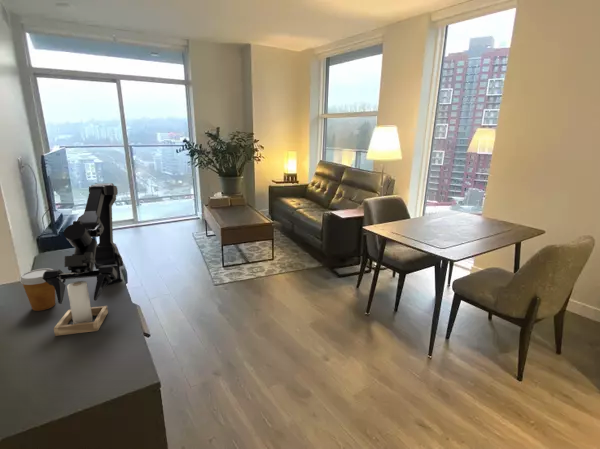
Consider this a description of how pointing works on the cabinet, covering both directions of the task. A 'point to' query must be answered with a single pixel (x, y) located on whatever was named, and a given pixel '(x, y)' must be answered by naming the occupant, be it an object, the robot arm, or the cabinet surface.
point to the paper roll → (79, 302)
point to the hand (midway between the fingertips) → (77, 301)
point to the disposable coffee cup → (38, 290)
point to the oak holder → (82, 327)
